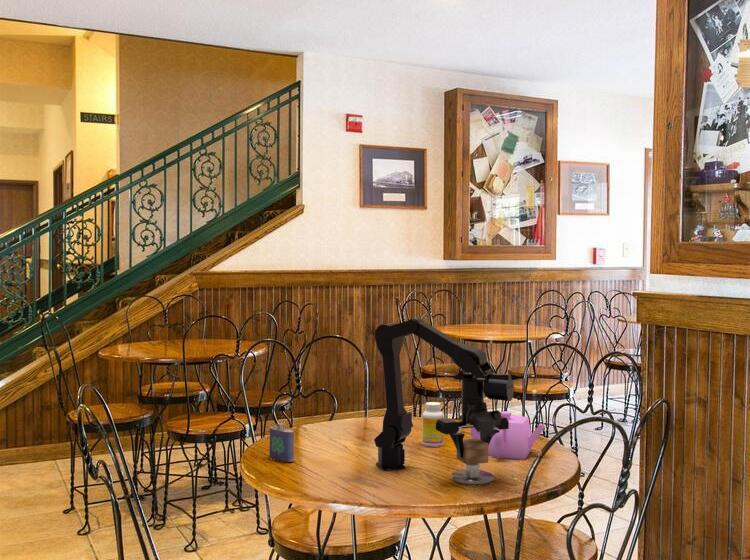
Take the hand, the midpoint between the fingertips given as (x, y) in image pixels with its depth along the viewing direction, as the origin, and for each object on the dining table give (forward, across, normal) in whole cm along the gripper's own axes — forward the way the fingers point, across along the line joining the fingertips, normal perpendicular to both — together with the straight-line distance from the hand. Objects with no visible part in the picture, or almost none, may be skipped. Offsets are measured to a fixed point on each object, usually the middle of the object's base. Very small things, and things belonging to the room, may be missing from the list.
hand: (472, 456), depth 190 cm
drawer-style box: (+1, 0, 0) cm, 1 cm away
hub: (+6, 0, 0) cm, 6 cm away
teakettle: (+6, +22, +20) cm, 30 cm away
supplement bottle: (+6, +5, +36) cm, 37 cm away
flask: (+6, -43, +35) cm, 56 cm away
